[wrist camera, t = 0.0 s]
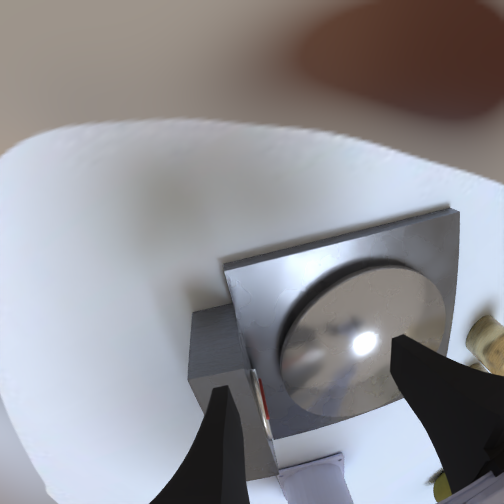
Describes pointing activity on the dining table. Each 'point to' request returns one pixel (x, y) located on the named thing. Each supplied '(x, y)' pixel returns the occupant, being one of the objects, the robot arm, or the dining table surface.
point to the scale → (287, 310)
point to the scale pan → (358, 339)
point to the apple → (441, 488)
